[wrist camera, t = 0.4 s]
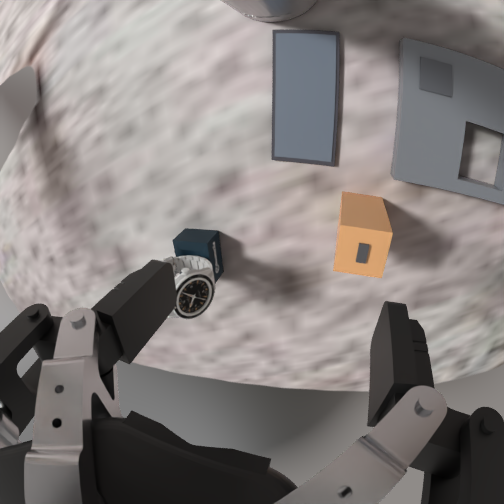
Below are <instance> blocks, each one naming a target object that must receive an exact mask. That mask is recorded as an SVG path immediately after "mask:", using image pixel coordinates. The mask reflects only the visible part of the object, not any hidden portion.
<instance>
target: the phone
mask: <svg viewBox="0 0 504 504" xmlns="http://www.w3.org/2000/svg"><path fill="white" fill-rule="evenodd" d="M339 59H340V34H339V32H333V31H318V30H273V94H272V160H279V161H290V162H300V163H310V164H318V165H327V166H334V163H335V150H336V136H337V120H338V98H339Z"/></svg>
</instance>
